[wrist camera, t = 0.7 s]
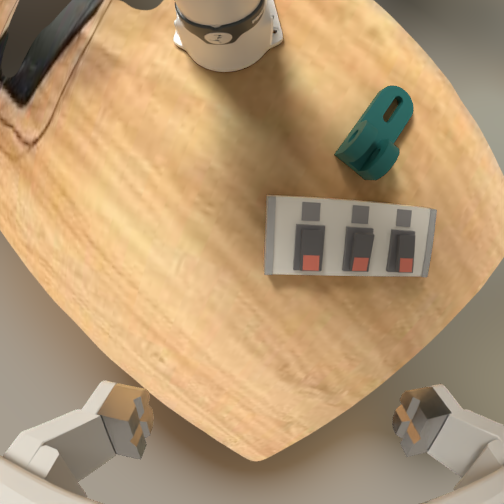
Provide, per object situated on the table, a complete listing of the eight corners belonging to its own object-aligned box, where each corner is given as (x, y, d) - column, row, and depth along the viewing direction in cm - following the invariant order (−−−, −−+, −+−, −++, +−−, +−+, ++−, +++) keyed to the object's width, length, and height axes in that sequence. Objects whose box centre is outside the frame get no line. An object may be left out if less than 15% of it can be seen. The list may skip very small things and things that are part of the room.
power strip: (266, 194, 48) (267, 196, 43) (424, 207, 48) (437, 210, 43) (263, 266, 51) (264, 275, 46) (416, 269, 50) (428, 277, 46)
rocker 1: (301, 229, 44) (302, 229, 43) (320, 230, 44) (322, 230, 43) (299, 269, 44) (300, 270, 43) (319, 270, 44) (320, 271, 43)
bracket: (364, 179, 47) (383, 180, 39) (333, 154, 46) (348, 150, 39) (413, 106, 43) (435, 97, 36) (385, 81, 43) (404, 68, 35)
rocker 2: (354, 231, 43) (356, 234, 42) (372, 232, 43) (374, 235, 42) (348, 268, 45) (350, 271, 44) (365, 268, 45) (367, 271, 44)
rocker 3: (397, 234, 44) (400, 234, 43) (412, 235, 44) (415, 235, 43) (394, 271, 44) (397, 272, 43) (410, 271, 44) (413, 272, 43)
